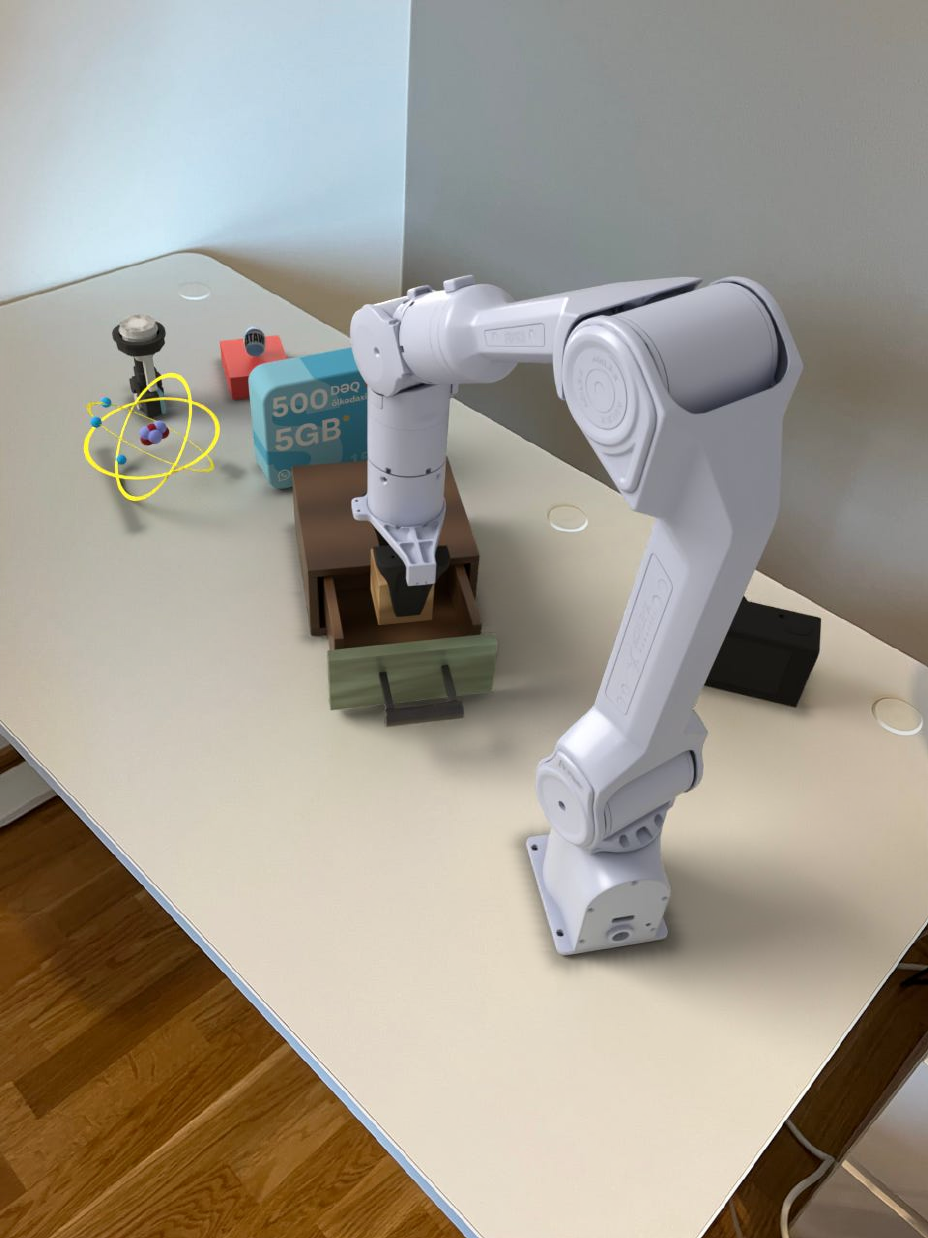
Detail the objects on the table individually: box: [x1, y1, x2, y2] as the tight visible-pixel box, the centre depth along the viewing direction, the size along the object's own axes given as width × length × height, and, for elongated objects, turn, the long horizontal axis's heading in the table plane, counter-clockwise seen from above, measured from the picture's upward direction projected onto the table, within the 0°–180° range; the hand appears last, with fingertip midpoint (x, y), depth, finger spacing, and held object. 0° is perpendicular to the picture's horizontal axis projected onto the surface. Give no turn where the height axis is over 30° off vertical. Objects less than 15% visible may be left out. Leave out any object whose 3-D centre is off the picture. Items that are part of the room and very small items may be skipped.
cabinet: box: [291, 454, 481, 636], centre depth 97 cm, size 15×15×8 cm
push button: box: [111, 314, 167, 419], centre depth 114 cm, size 7×5×10 cm
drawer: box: [320, 564, 498, 728], centre depth 88 cm, size 19×13×6 cm
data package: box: [248, 347, 368, 490], centre depth 107 cm, size 12×4×12 cm, turn 116°
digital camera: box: [704, 595, 822, 708], centre depth 91 cm, size 10×5×7 cm, turn 74°
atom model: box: [83, 372, 221, 502], centre depth 104 cm, size 14×15×14 cm
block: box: [371, 549, 434, 625], centre depth 86 cm, size 4×4×4 cm
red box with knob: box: [219, 326, 288, 401], centre depth 120 cm, size 8×7×6 cm
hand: (402, 591), depth 87 cm, fingers closed on block, 4 cm apart
